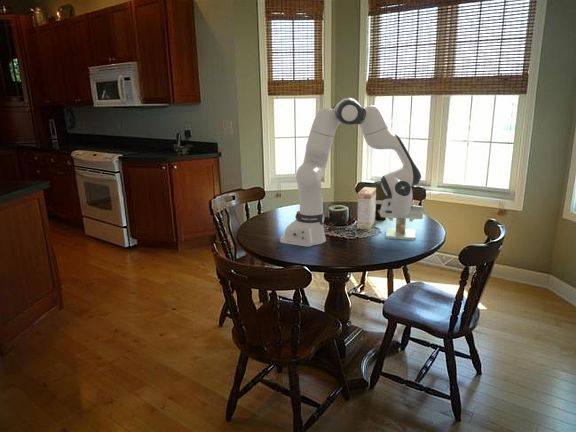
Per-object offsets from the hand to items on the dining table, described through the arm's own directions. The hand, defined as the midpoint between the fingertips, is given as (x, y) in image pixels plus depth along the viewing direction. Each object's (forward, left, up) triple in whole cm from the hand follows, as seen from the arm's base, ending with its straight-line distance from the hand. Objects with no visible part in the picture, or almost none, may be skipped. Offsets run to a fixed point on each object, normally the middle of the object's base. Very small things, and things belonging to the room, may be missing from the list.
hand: (401, 219), depth 210 cm
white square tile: (0, -1, -8) cm, 8 cm away
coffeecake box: (-18, +12, -8) cm, 23 cm away
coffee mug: (-13, +25, -8) cm, 30 cm away
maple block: (0, -1, -6) cm, 6 cm away
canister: (-11, +43, -8) cm, 45 cm away
